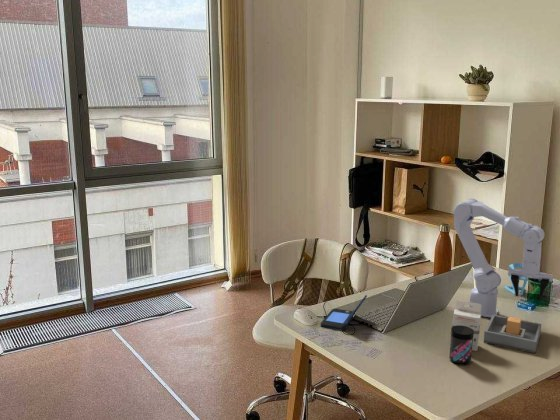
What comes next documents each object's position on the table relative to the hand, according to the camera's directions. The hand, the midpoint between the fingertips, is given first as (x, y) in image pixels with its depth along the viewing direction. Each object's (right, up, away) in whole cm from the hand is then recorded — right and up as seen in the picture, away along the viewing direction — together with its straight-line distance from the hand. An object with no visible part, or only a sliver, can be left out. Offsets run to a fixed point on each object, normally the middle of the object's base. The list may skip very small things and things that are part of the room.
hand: (528, 297), depth 202 cm
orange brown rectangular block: (-9, -12, -9) cm, 18 cm away
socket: (-10, -13, -9) cm, 18 cm away
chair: (+10, -3, +34) cm, 36 cm away
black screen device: (-66, -10, +4) cm, 67 cm away
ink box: (-28, -14, -15) cm, 35 cm away
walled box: (-10, -13, -9) cm, 18 cm away
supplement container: (-32, -16, -24) cm, 44 cm away
